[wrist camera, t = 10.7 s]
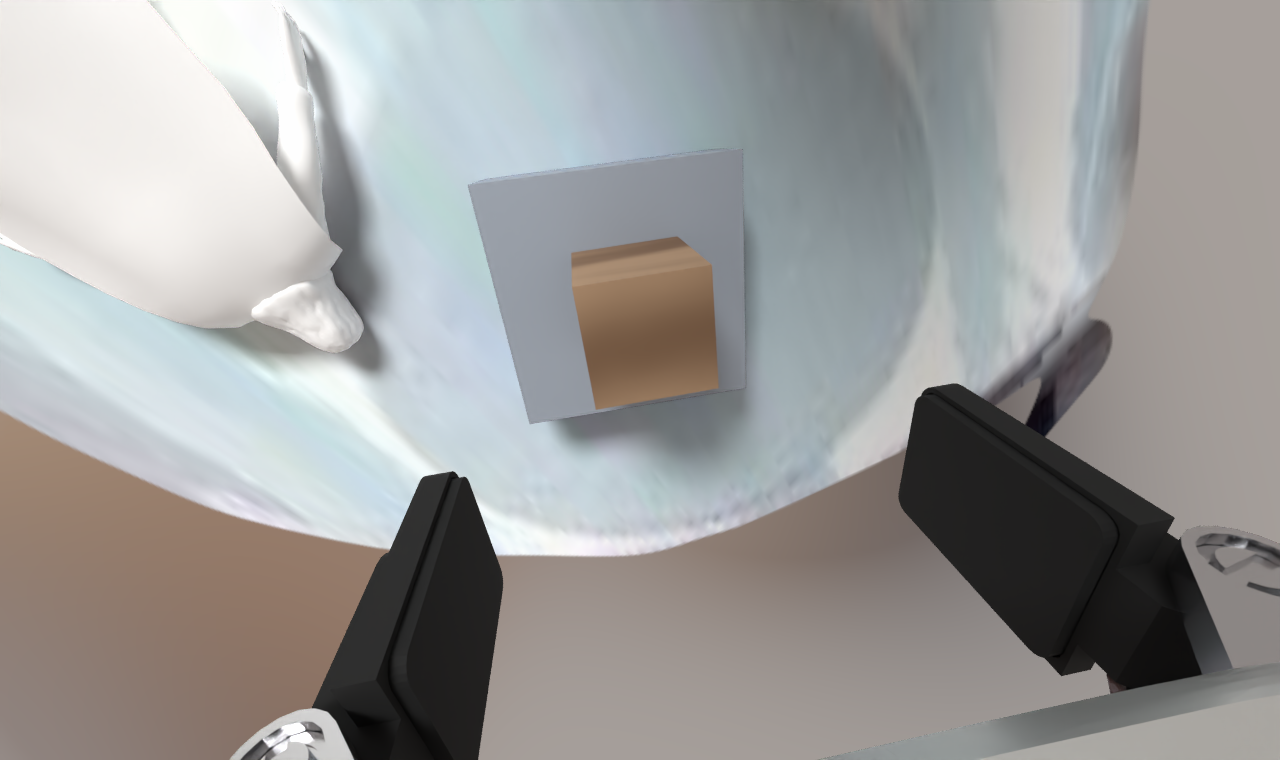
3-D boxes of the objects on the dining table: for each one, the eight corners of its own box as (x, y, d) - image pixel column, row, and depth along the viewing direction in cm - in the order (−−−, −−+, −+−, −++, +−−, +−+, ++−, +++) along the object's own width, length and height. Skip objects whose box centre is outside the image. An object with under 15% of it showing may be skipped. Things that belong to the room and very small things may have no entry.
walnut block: (571, 252, 22) (571, 287, 16) (677, 236, 22) (711, 264, 17) (589, 351, 24) (595, 410, 19) (685, 335, 24) (718, 388, 19)
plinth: (486, 178, 24) (467, 185, 20) (712, 149, 25) (742, 149, 21) (535, 383, 30) (529, 424, 25) (720, 353, 31) (745, 388, 26)
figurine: (-362, -87, 17) (254, 408, 28) (-1128, -275, 9) (139, 507, 21) (-42, -429, 15) (483, 254, 26) (-691, -1040, 7) (450, 301, 18)
